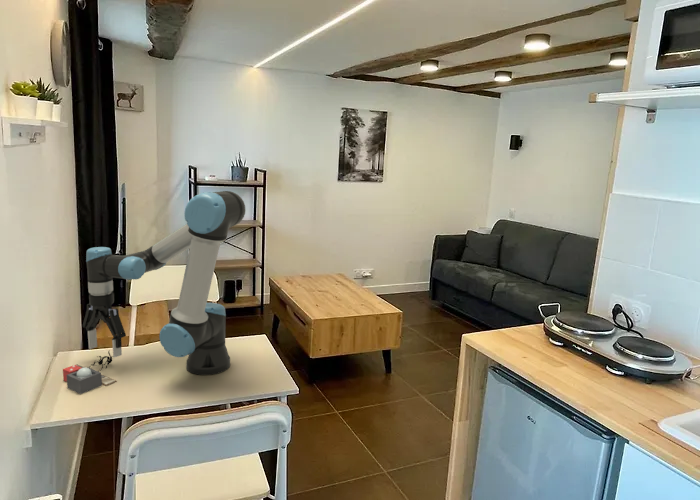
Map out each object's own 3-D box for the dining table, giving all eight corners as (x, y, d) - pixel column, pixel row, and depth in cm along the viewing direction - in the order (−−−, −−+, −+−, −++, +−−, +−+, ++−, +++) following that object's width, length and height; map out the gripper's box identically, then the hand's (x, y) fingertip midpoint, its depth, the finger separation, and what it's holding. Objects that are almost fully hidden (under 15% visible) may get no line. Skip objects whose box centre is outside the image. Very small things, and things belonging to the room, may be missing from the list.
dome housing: (101, 385, 155) (101, 372, 154) (80, 394, 149) (79, 380, 148) (88, 380, 158) (87, 367, 158) (67, 388, 152) (66, 374, 152)
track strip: (117, 381, 158) (117, 380, 158) (105, 386, 155) (105, 384, 155) (77, 365, 169) (76, 363, 169) (65, 369, 165) (65, 367, 165)
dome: (94, 381, 154) (94, 367, 153) (82, 385, 151) (81, 372, 150) (86, 377, 156) (86, 364, 155) (74, 382, 153) (73, 368, 152)
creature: (91, 377, 163) (116, 367, 167) (87, 363, 162) (112, 353, 166) (88, 368, 169) (112, 359, 174) (83, 355, 168) (108, 346, 172)
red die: (82, 379, 159) (82, 366, 158) (70, 383, 155) (70, 370, 154) (75, 376, 161) (74, 363, 160) (63, 380, 157) (62, 367, 156)
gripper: (134, 296, 161) (138, 356, 165) (89, 285, 173) (93, 341, 177) (114, 301, 155) (118, 363, 159) (68, 289, 167) (73, 347, 171)
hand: (105, 351), depth 168 cm, fingers open, 13 cm apart
